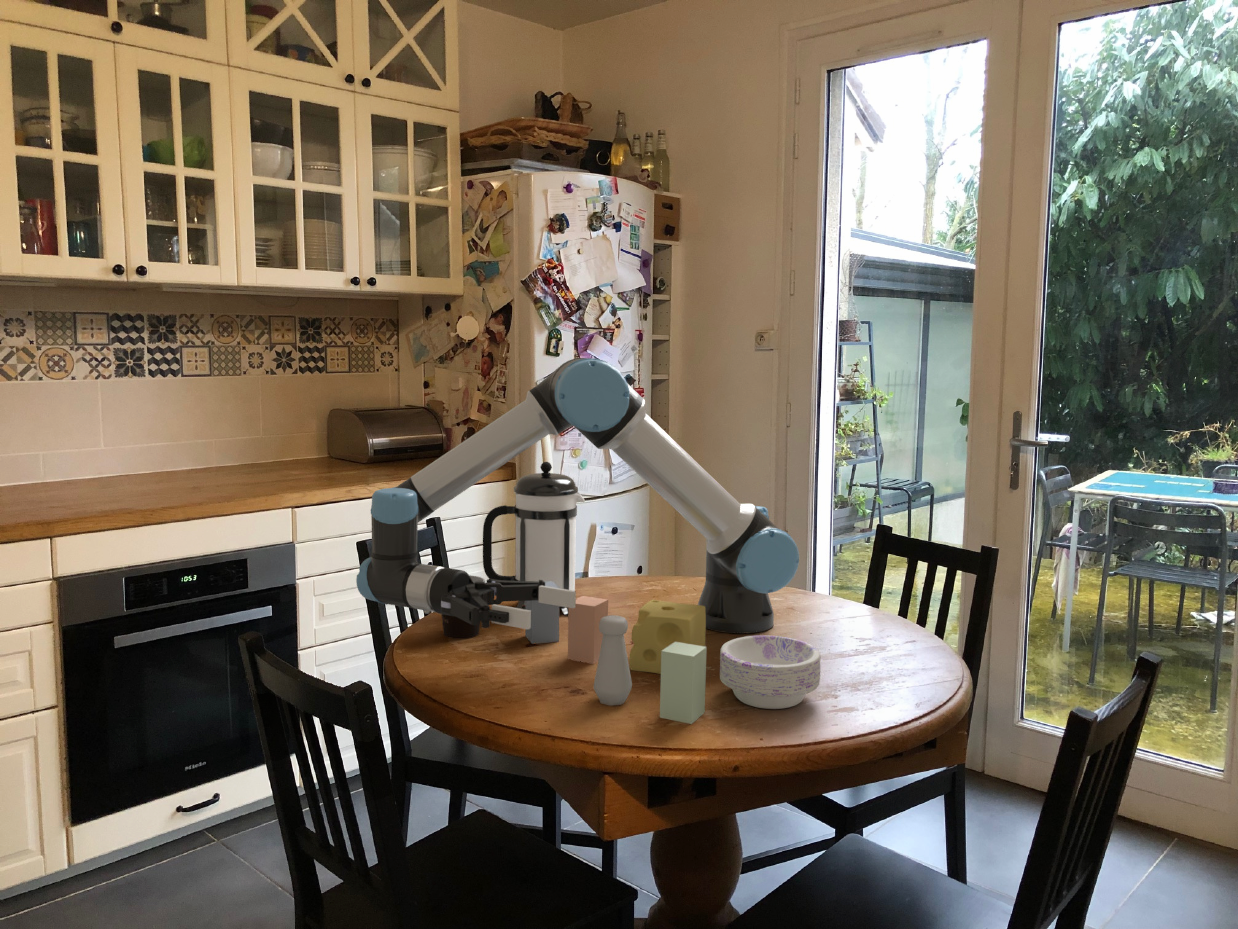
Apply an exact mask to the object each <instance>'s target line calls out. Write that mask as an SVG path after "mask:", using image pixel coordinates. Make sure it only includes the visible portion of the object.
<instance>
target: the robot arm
mask: <svg viewBox="0 0 1238 929" xmlns="http://www.w3.org/2000/svg"><path fill="white" fill-rule="evenodd" d="M571 427H574V429H576V430H577V431H578V432H579V433H581V435H583V436H584V437H585V438H586V439H587V440H588V441H589V442H590V443H591V444H592V445H594V447H595V448H596V449H598V450H604V449H605V450H607V449H609V450H612V451H613V453H615V454H616V455H617V456H618V457H619V458H620V459H621V460H622V461H623V462H625V464H626V465H628V466H629V467H630V468H631V469H632V470H633V471H634V472H635V473H636V474H637V475H638V476H639V477H640V478H641V479H643V480H644V482H645V483H647V484H648V485H649V486H650V487H651V488H652V489H653V490H654V491H655V492H656V493H658V495H660V497H662V498H663V500H664V501H666V503H668V504H669V505H670V506H671V507H672V508H673V509H675V511H676V512H678V513H679V515H681V516H682V517H683V518H684V519H685V520H686V521H687V522H688V523H689V524H690V525H692V526H693V527H694V528H695V530H697V531H698V532H699V533H700V534H701V535H702V536H703V537H704V538H705V539H706V548H705V550H706V552H705V553H706V554H705V582H704V586H703V588H702V590H701V594H700V597H699V599H698V603H697V605H701V606H705V613H706V630H711V631H715V632H720V633H727V634H752V633H761V632H764V631H767V630H769V629H771V628H773V627H774V623H775V622H774V621H775V620H774V619H775V617H774V615H775V613H774V610H773V606H772V602H771V599H770V596H769V594H771V593H776V592H778V591H780V590H781V589H783V588H785V587H786V586H787V585H788V584H790V583H791V581H792V580H793V578H794V577H795V575H796V574H797V571H798V569H799V564H800V552H799V548H798V545H797V544H796V541H795V540H794V539H793V537H792V536H791V535H790V534H789V533H788V532H786V531H783V529H780V528H778V526H776V524H774V523H773V522H772V521H771V520H770V516H769V510H768V508H767V507H765V506H758V505H754V504H753V503H750V502H749V503H748V502H747V503H741V502H739V501H738V500H737V498H735V497H734V496H732V494H731V493H729V492H728V491H727V490H726V488H724V487H723V486H722V485H721V484H720V482H718V481H717V480H716V479H715V478H714V477H713V476H712V475H710V473H709V472H707V470H705V468H703V466H701V465H700V464H699V463H698V462H697V461H696V460H695V459H694V458H693V457H692V456H691V455H690V454H689V452H687V451H686V450H685V449H683V448H682V446H681V445H679V444H678V442H676V441H675V440H674V439H673V438H672V437H671V436H670V435H669V434H668V433H667V432H666V431H665V430H664V429H663V428H662V427H661V426H660V425H659V424H658V423H657V422H656V421H654V420H653V419H652V418H651V417H650V416H649V414H648V413H646V401H645V398H643V397H642V396H641V394H639V393H638V392H637V391H636V390H635V389H634V388H633V387H632V386H631V385H630V384H629V383H628V382H627V380H626V378H625V377H624V375H623V373H622V372H621V371H620V370H619V369H618V368H617V367H616V366H614V365H613V364H612V363H610V362H608V361H605V360H603V359H599V358H595V357H594V358H592V357H591V358H590V357H589V358H588V357H578V358H577V357H576V358H573V359H569V360H567V361H565V362H564V363H562V364H561V365H560V366H558V367H557V368H556V369H555V370H553V372H551V373H550V374H549V375H548V376H547V377H546V378H544V379H543V380H542V381H541V382H539V383H537V385H535V386H534V387H533V388H530V389H529V390H528V391H527V393H526V398H525V399H524V401H521V402H520V403H519V404H517V405H515V406H514V407H512V408H511V409H510V410H508V411H507V412H505V413H504V414H503V415H501V416H499V417H498V418H497V419H495V420H494V421H492V422H491V423H489V424H487V425H486V426H484V427H483V428H481V429H480V430H479V431H477V432H475V433H474V434H473V435H471V436H470V437H468V438H466V439H465V440H464V441H462V442H461V443H459V444H458V445H456V446H455V447H453V448H452V449H450V450H448V452H446V453H445V454H443V455H441V456H440V457H438V458H437V459H435V460H434V461H433V462H431V463H430V464H428V465H426V466H425V467H424V468H422V469H421V470H419V471H417V472H416V473H415V474H413V475H411V476H410V477H409V478H408V479H406V480H404V481H402V483H400V484H398V485H396V486H394V487H389V488H387V487H386V488H381V489H377V490H375V491H374V492H373V493H372V496H371V508H370V515H371V517H370V518H371V555H370V557H368V558H366V559H364V561H362V563H361V564H360V566H359V568H358V570H359V572H358V574H357V575H356V579H355V580H356V588H357V590H358V592H359V593H360V595H361V597H363V598H364V599H367V600H370V601H374V602H377V603H380V605H381V604H382V605H391V606H397V607H403V608H408V609H415V610H421V611H423V612H424V614H425V615H426V614H427V615H428V614H429V613H431V612H432V613H436V614H440V615H441V614H444V615H450V616H456V617H458V618H460V619H462V620H463V621H465V622H467V623H469V624H471V625H479V621H480V623H481V628H482V629H488V628H490V624H496V625H500V626H501V625H502V626H508V627H513V628H517V629H518V628H519V629H522V630H525V629H530V628H531V610H525V609H522V608H521V609H519V608H516V607H512V606H507V605H502V602H519V601H532V600H538V603H544V604H550V605H556V606H562V607H568V608H575V604H576V599H577V598H576V596H577V595H576V594H577V592H576V591H577V590H575V591H573V590H567V589H560V588H554V587H548V586H545V582H544V581H543V580H539V581H507V580H494V579H489V578H487V579H486V581H485V582H483V581H479V582H475V584H474V583H473V581H472V580H471V577H470V576H469V575H470V574H469V573H468V572H467V571H465V570H463V569H455V568H450V567H444V566H441V565H440V566H439V565H431V564H425V563H419V562H418V528H419V527H418V526H419V525H418V524H419V523H421V521H423V520H424V519H426V518H427V517H429V516H431V514H433V513H434V512H435V511H436V510H438V509H440V508H441V507H443V506H444V505H446V504H447V503H449V502H450V501H452V500H453V499H455V498H456V497H458V496H459V495H461V494H462V493H464V492H465V491H466V490H468V489H470V488H471V487H472V486H474V485H475V484H477V483H478V482H480V481H482V480H483V479H484V478H486V477H488V476H489V475H490V474H492V473H493V472H495V471H496V470H499V468H501V467H502V466H504V465H505V464H507V463H508V462H510V461H512V460H513V459H514V458H515V457H518V456H519V455H520V454H522V453H523V452H525V451H527V449H529V448H531V447H532V446H533V445H535V444H537V443H538V442H540V441H541V440H543V439H545V437H547V436H549V435H554V436H558V435H560V434H561V433H563V432H564V431H566V430H567V429H569V428H571ZM490 607H491V608H490ZM490 622H491V623H490Z"/></svg>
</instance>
